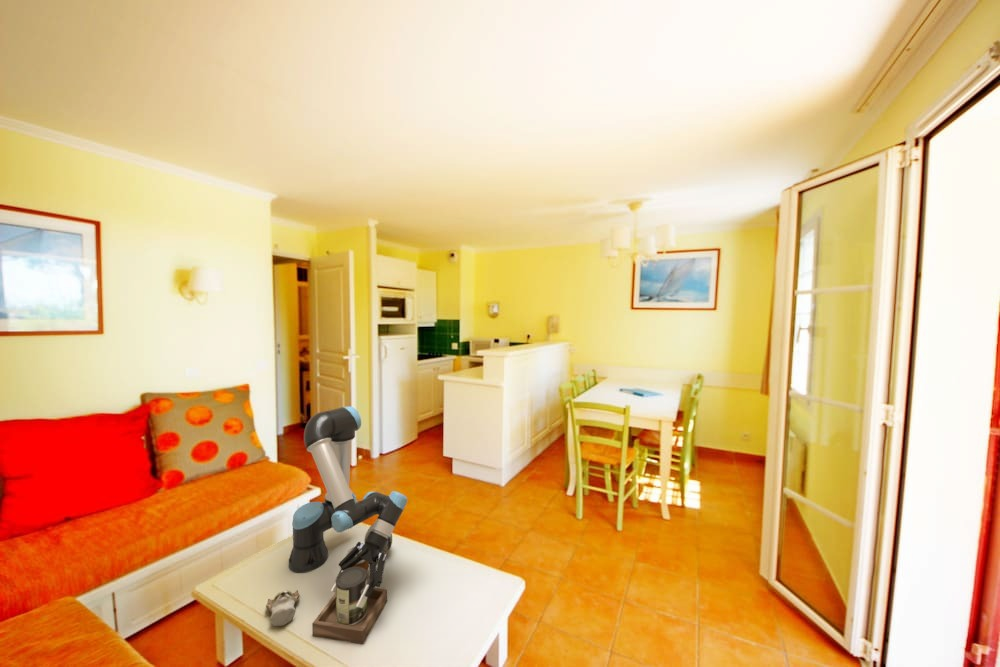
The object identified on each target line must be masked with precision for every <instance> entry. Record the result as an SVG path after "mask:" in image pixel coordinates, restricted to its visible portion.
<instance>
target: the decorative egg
mask: <svg viewBox="0 0 1000 667" xmlns="http://www.w3.org/2000/svg"><path fill="white" fill-rule="evenodd" d="M374 524H375V522H373V523H372V524H371V526H369V528H368V529H367V530H366V533H365V536H364V541H363V542H364V543H363V544H365V543H366V539H367V537H368V535H369V533H370V532H371V531H373V530H372V527H373V525H374ZM387 539H388V541H387V543H386V545H385V547H384V549H382V551H381V553H384V554H386V555H387V554H388V553H389V551H390V550H391V547H392V544H393V532H392V533H391V535H390V537H388V538H387ZM377 559H379V557H378V558H377Z"/></svg>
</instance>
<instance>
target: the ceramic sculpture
mask: <svg viewBox="0 0 1000 667" xmlns="http://www.w3.org/2000/svg"><path fill="white" fill-rule="evenodd" d="M300 596H301V595H300V593H299V590H298V589H296V591H294V592H292V591H291V590H288V589H287V590H282V591H281V592H277V594H276V595H275V596H274V597H273V599H270V598H268V599H267V603H266V605H265V608H266V610H267V611H270V613H271V615H270V618H269V620H270V623H271V625H272V626H274V627H283V626H285V625H286V624H288V623H290V622H291V621H292V620H293V619H294V616H295V614H296V609H295V604H296V603H297V602H298V601H299V599H300Z"/></svg>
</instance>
